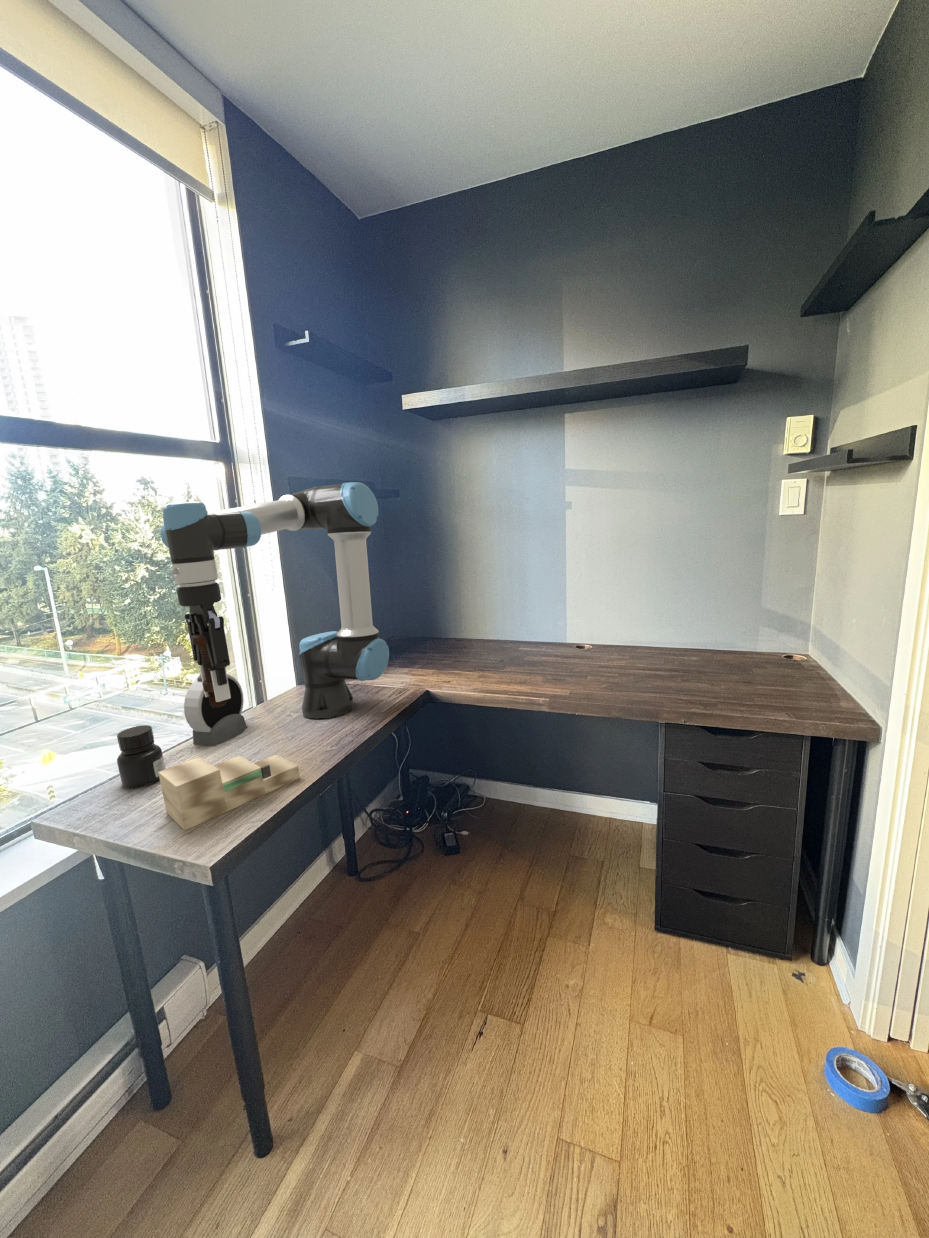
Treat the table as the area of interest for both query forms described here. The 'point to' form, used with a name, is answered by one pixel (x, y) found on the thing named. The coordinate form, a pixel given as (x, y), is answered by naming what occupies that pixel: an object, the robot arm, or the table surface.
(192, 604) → the robot arm
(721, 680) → the table surface
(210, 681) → the bolt
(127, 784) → the ink bottle
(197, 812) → the stair stand
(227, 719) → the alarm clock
